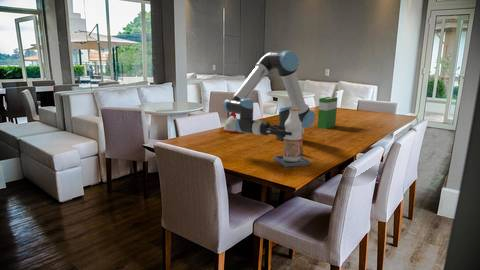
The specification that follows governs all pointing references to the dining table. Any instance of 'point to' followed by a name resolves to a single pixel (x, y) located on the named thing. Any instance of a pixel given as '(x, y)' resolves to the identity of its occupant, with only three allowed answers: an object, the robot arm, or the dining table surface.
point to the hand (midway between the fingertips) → (301, 132)
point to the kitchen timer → (231, 124)
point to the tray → (291, 164)
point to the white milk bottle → (292, 143)
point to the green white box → (327, 112)
